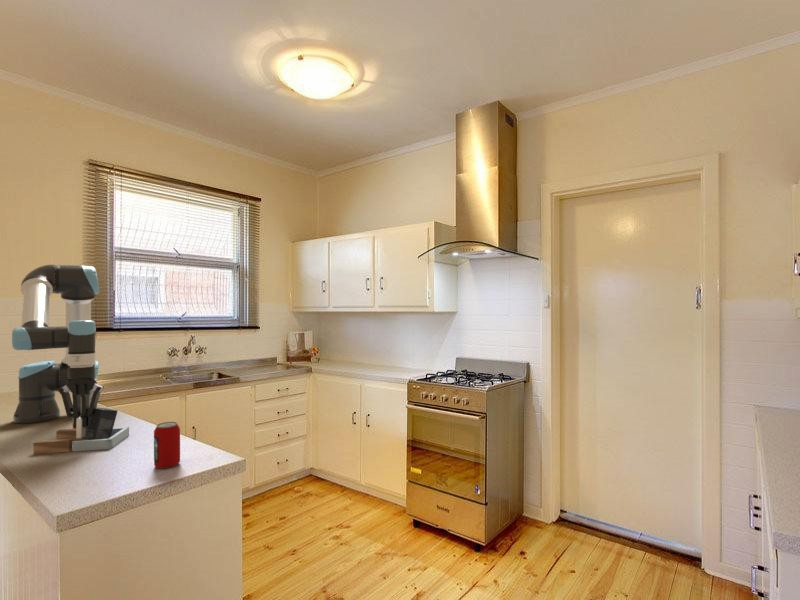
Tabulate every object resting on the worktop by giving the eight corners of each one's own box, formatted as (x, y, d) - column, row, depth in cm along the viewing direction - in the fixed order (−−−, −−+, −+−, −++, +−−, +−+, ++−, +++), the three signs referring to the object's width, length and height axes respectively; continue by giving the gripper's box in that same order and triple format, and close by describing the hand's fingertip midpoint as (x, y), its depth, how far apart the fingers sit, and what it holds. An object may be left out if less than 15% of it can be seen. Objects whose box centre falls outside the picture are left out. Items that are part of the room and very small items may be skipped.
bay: (94, 437, 158) (94, 429, 158) (129, 435, 160) (129, 427, 160) (72, 451, 143) (72, 441, 143) (110, 448, 145) (110, 439, 145)
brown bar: (59, 439, 156) (59, 429, 156) (91, 437, 157) (91, 427, 157) (33, 454, 141) (33, 442, 141) (69, 451, 143) (69, 440, 143)
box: (109, 441, 153) (118, 410, 155) (92, 441, 148) (101, 409, 150) (97, 438, 156) (105, 407, 159) (80, 438, 152) (89, 406, 154)
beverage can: (160, 461, 133) (160, 421, 133) (184, 460, 133) (183, 420, 133) (149, 470, 126) (149, 427, 126) (174, 469, 126) (174, 427, 127)
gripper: (53, 368, 145) (52, 441, 144) (97, 366, 147) (96, 438, 147) (66, 365, 152) (65, 435, 152) (108, 364, 155) (107, 433, 154)
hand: (80, 437), depth 149 cm, fingers closed
